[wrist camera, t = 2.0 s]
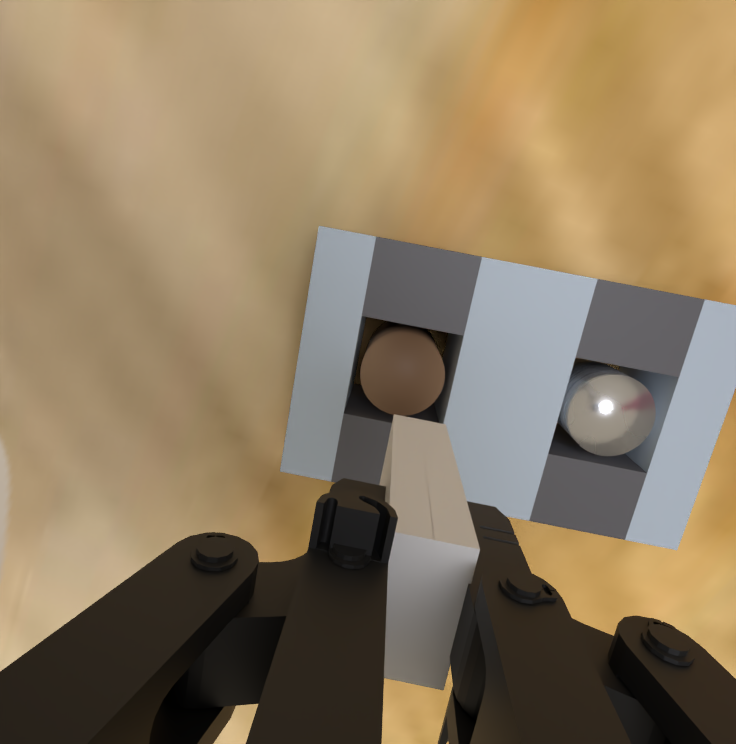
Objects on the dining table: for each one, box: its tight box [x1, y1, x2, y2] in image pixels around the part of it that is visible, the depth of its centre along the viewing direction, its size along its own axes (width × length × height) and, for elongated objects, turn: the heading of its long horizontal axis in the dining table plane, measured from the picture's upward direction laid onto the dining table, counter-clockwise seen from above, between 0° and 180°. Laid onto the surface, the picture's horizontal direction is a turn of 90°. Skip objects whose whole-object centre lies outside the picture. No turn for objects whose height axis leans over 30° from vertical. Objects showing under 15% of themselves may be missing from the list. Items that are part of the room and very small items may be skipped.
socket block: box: [280, 226, 736, 550], centre depth 27 cm, size 20×12×6 cm, turn 79°
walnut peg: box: [360, 321, 445, 416], centre depth 27 cm, size 4×4×6 cm
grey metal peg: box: [557, 357, 656, 456], centre depth 27 cm, size 4×4×6 cm
